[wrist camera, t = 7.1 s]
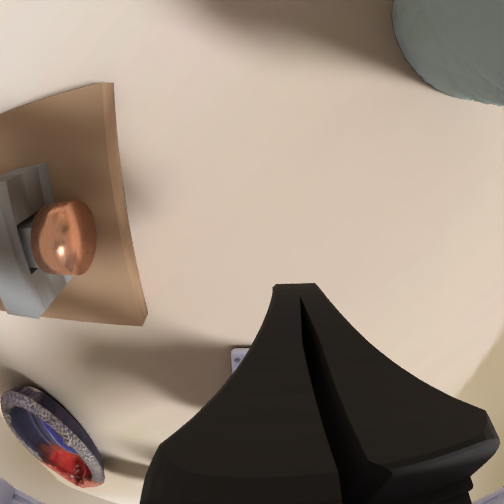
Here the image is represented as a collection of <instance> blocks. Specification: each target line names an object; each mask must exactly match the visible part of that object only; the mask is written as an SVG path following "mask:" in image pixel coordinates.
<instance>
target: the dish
mask: <svg viewBox="0 0 504 504" xmlns="http://www.w3.org/2000/svg"><path fill="white" fill-rule="evenodd" d="M1 409H2V413H3V416H4V418H5V420H6V422H7V424H8V426H9V427H10V429H11V430H12V432H13V433H14V434H15V436H16V437H17V438H18V439H19V441H20V442H21V443H22V444H23V445H24V446H25V447H26V448H27V450H29V452H31V453H32V454H33V455H34V456H35V457H36V458H37V459H38V460H40V461H41V462H42V463H43V464H45V465H46V466H48V467H49V468H50V469H52V470H53V471H55V472H56V473H58V474H59V475H61V476H62V477H64V478H65V479H67V480H68V481H70V482H71V483H73V484H75V485H76V486H80V487H82V488H85V487H96V486H99V485H101V484H103V483H104V479H105V476H104V468H103V463H102V460H101V456H100V454H99V452H98V450H97V448H96V446H95V444H94V443H93V441H92V440H91V438H90V437H89V436H88V434H87V433H86V432H85V431H84V429H83V428H82V427H81V426H80V425H79V423H78V422H77V421H76V420H75V419H74V418H73V417H72V416H71V415H70V414H69V413H68V412H67V411H66V410H65V409H64V408H63V407H62V406H60V405H59V404H58V403H57V402H56V401H55V400H53V399H52V398H51V397H49V396H48V395H46V394H45V393H43V392H42V391H40V390H38V389H36V388H33V387H31V386H26V385H25V386H17V387H14V388H13V389H11V390H10V391H7V392H5V393H4V394H3V396H2V397H1Z"/></svg>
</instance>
